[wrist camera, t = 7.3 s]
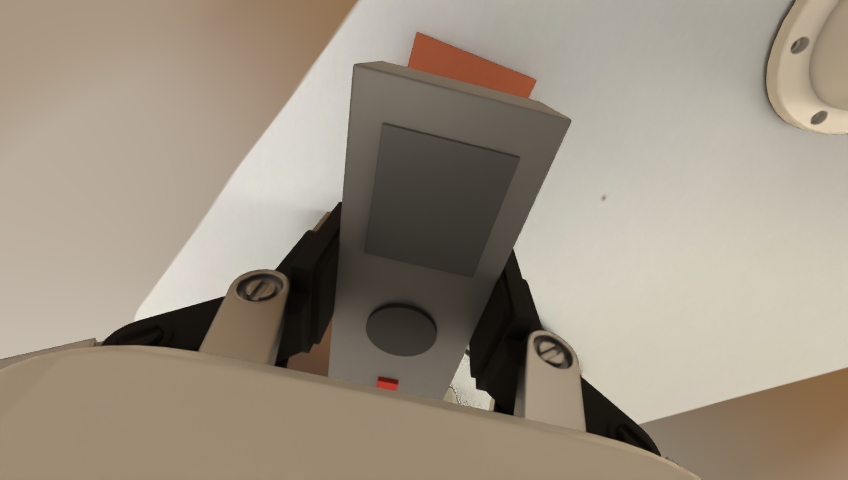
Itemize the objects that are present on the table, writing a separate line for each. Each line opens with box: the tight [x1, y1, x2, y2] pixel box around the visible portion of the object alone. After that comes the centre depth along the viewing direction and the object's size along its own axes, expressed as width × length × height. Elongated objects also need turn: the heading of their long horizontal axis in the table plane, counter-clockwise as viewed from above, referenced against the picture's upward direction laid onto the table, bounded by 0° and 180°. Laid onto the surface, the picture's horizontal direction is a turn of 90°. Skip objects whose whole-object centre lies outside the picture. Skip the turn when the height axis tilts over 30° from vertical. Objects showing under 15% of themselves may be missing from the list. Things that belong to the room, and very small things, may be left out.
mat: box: [407, 32, 536, 99], centre depth 25 cm, size 13×9×1 cm
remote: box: [328, 61, 571, 401], centre depth 11 cm, size 12×5×3 cm, turn 167°
